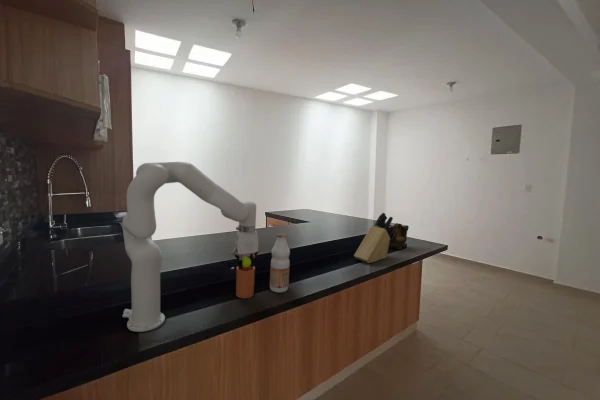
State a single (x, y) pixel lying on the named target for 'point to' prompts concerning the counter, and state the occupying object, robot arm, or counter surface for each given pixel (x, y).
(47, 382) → the counter surface
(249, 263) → the ball
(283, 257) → the fruit juice
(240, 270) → the tube
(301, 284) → the counter surface
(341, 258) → the counter surface
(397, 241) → the pottery vessel
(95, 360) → the counter surface
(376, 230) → the knife block
